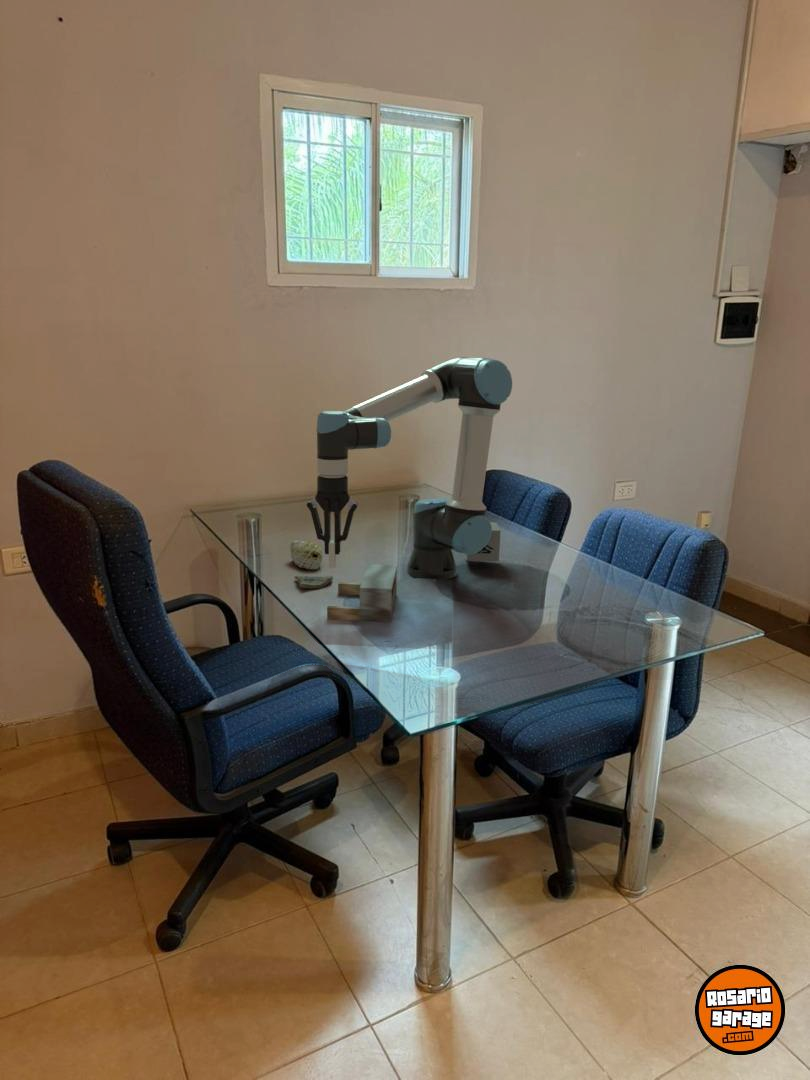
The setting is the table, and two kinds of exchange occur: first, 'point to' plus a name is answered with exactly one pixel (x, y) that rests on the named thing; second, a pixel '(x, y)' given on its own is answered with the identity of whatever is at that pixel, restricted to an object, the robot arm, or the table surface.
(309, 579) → the ceramic fragment
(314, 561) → the seashell
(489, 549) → the icon cube
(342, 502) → the robot arm
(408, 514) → the table surface
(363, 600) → the seat fixture
